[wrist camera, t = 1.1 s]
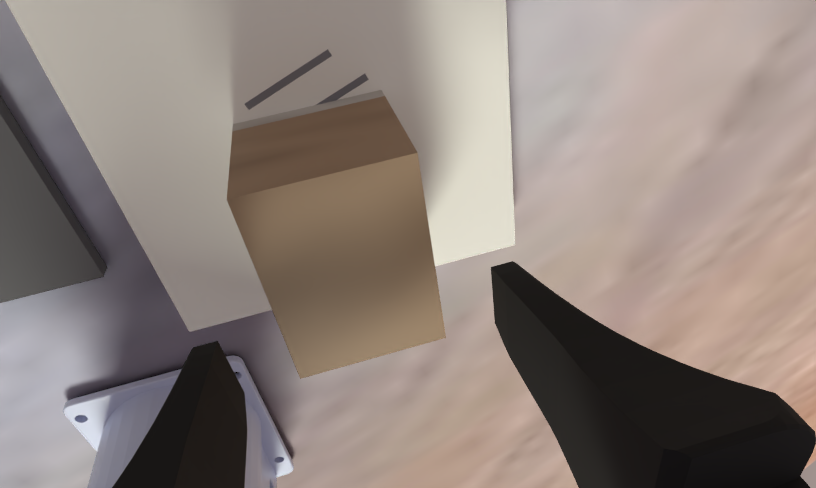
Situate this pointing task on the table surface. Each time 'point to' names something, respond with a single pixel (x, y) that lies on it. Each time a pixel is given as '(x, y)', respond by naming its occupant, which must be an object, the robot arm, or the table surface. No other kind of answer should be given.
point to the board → (268, 95)
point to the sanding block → (337, 230)
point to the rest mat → (37, 224)
